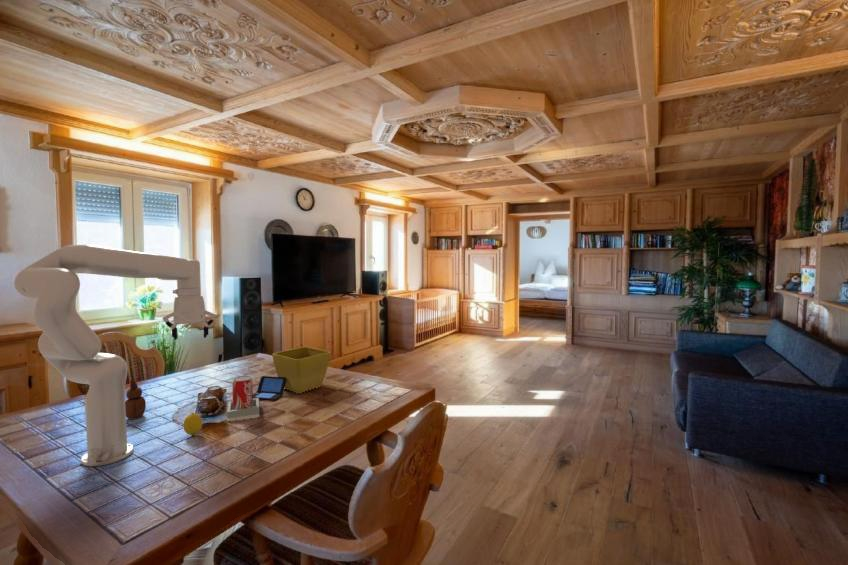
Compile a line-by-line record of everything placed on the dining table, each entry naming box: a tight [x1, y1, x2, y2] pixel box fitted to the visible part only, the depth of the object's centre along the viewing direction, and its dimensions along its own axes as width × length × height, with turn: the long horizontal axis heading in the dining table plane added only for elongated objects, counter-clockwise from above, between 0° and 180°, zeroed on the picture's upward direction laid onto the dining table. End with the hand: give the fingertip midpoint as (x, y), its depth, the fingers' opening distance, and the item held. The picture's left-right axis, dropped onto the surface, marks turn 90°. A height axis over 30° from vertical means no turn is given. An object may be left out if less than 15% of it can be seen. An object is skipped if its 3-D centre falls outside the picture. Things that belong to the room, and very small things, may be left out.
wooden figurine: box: [125, 379, 147, 420], centre depth 151 cm, size 7×6×15 cm
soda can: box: [231, 375, 254, 410], centre depth 155 cm, size 7×7×13 cm
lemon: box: [183, 412, 203, 437], centre depth 136 cm, size 6×6×8 cm
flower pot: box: [272, 346, 331, 394], centre depth 186 cm, size 19×19×17 cm
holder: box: [226, 398, 260, 422], centre depth 156 cm, size 13×11×4 cm
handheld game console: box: [253, 375, 287, 401], centre depth 175 cm, size 12×11×7 cm
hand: (190, 338), depth 150 cm, fingers open, 9 cm apart
